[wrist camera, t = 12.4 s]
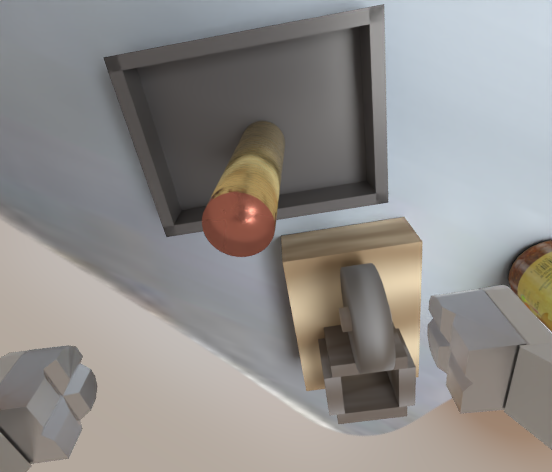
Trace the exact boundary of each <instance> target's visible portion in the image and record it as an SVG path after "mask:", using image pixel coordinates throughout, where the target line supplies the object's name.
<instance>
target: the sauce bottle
mask: <svg viewBox="0 0 552 472" xmlns="http://www.w3.org/2000/svg"><path fill="white" fill-rule="evenodd" d="M508 280H509V284H510V286H511V289H512V290H513V291H514V293H515V294H516V295H517V296H518V297H519V299H520V300H521V301H522V302H523V303H524V304H525V305H526V306H527V307H528V308H529V310H530V311H531V312H532V313H533V314H534V315H535V316H536V317H537V318H538V319H539V320H540V321H541V322H542V323H543V324H544V325H545V326H546V327H547V328H548V329H549V330H550V331H551V332H552V240H549V241H544V242H542V243H539V244H537V245H534V246H532V247H530V248H528V249H527V250H525V251H524V252H523V253H522V254H521V255H519V256H518V257H517V259H516V260H515V262H514V263H513V264H512V267H511V269H510V272H509V277H508Z"/></svg>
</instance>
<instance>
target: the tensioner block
mask: <svg viewBox="0 0 552 472" xmlns="http://www.w3.org/2000/svg"><path fill="white" fill-rule="evenodd" d="M281 244H282V261H283V267H284V273H285V278H286V283H287V289H288V294H289V300H290V305H291V310H292V316H293V321H294V326H295V332H296V337H297V343H298V348H299V353H300V359H301V364H302V369H303V375H304V380H305V386H306V391H310V390H318V389H326V396H327V402H328V408H329V415H337V418H338V424H344V423H353V422H361V421H369V420H378V419H386V418H395V417H403V416H407V406H413V405H415V385H416V377H418V372H419V339H420V305H421V271H422V240H421V239H420V238H419V236H418V235H417V234H416V232H415V231H414V230H413V228H412V227H411V226H410V224H409V223H408V221H407V220H406V219H405V217H401V218H394V219H388V220H381V221H375V222H368V223H362V224H355V225H349V226H342V227H335V228H329V229H322V230H316V231H309V232H303V233H296V234H290V235H283V236H281Z"/></svg>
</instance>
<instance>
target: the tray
mask: <svg viewBox="0 0 552 472" xmlns="http://www.w3.org/2000/svg"><path fill="white" fill-rule="evenodd" d="M104 61H105V64H106V67H107V69H108V72H109V75H110V78H111V81H112V84H113V86H114V89H115V92H116V95H117V98H118V101H119V103H120V106H121V109H122V112H123V115H124V118H125V120H126V123H127V126H128V129H129V132H130V135H131V138H132V140H133V143H134V146H135V149H136V152H137V155H138V157H139V160H140V163H141V166H142V169H143V172H144V174H145V177H146V180H147V183H148V186H149V189H150V191H151V194H152V197H153V200H154V203H155V206H156V209H157V211H158V214H159V217H160V220H161V223H162V226H163V228H164V231H165V234H166V237H170V236H176V235H183V234H189V233H195V232H202V231H203V228H202V216H203V212H204V210H205V208H206V206H207V204H208V202H209V200H210V198H211V196H212V194H213V192H214V190H215V188H216V186H217V184H218V182H219V180H220V178H221V176H222V174H223V173H224V171H225V169H226V167H227V165H228V163H229V161H230V159H231V157H232V155H233V153H234V151H235V149H236V147H237V145H238V143H239V141H240V139H241V137H242V135H243V133H244V131H245V130H246V128H247V127H248V126H249V125H251V124H252V123H254V122H257V121H268V122H271V123H273V124H275V125H276V126H278V127H279V128H280V130H281V131H282V133H283V135H284V138H285V150H284V158H283V167H282V175H281V183H280V192H279V200H278V208H277V217H276V220H279V219H285V218H292V217H298V216H305V215H311V214H317V213H324V212H330V211H337V210H343V209H349V208H356V207H362V206H369V205H375V204H382V203H388V169H387V120H386V71H385V22H384V4H383V5H378V6H372V7H367V8H362V9H357V10H351V11H346V12H341V13H335V14H330V15H325V16H320V17H314V18H309V19H304V20H299V21H293V22H288V23H283V24H278V25H272V26H267V27H262V28H257V29H251V30H246V31H241V32H236V33H230V34H225V35H220V36H215V37H209V38H204V39H199V40H193V41H188V42H183V43H178V44H172V45H167V46H162V47H157V48H151V49H146V50H141V51H136V52H130V53H125V54H120V55H115V56H109V57H104Z"/></svg>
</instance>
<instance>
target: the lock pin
mask: <svg viewBox="0 0 552 472" xmlns="http://www.w3.org/2000/svg"><path fill="white" fill-rule="evenodd" d="M284 150H285V138H284V135H283V133H282V131H281V130H280V128H279V127H278V126H276V125H275V124H273V123H271V122H268V121H257V122H254V123H252V124H251V125H249V126H248V127H247V128H246V130H245V131H244V133H243V135H242V137H241V139H240V141H239V143H238V145H237V147H236V149H235V151H234V153H233V155H232V157H231V159H230V161H229V163H228V165H227V167H226V169H225V171H224V173H223V174H222V176H221V178H220V180H219V182H218V184H217V186H216V188H215V190H214V192H213V194H212V196H211V198H210V200H209V202H208V204H207V206H206V208H205V210H204V212H203V216H202V228H203V231H204V234H205V236H206V238H207V239H208V241H209V242H210V243H211V244H212V245H213V246H214V247H215V248H216V249H218V250H219V251H221V252H223V253H225V254H228V255H231V256H236V257H247V256H252V255H255V254H257V253H259V252H261V251H263V250H264V249H265V248H266V247H267V246H268V245H269V244H270V242H271V241H272V239H273V236H274V232H275V225H276V217H277V208H278V200H279V192H280V183H281V175H282V167H283V158H284Z"/></svg>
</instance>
